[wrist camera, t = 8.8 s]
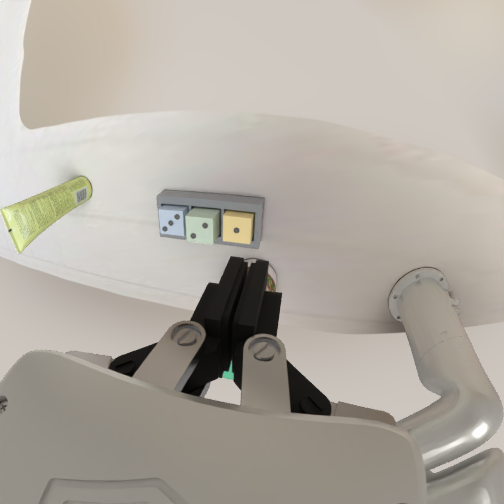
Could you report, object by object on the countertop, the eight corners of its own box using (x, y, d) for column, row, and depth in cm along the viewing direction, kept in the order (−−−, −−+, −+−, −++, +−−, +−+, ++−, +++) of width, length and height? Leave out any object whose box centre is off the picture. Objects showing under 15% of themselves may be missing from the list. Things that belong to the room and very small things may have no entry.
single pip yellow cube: (255, 209, 40) (251, 219, 37) (253, 233, 42) (249, 245, 39) (228, 206, 41) (222, 215, 38) (228, 230, 43) (222, 241, 40)
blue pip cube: (191, 203, 42) (182, 211, 38) (192, 226, 44) (183, 236, 40) (168, 201, 42) (157, 209, 39) (169, 224, 44) (160, 233, 41)
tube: (71, 191, 45) (-1, 235, 29) (76, 169, 43) (-2, 210, 26) (89, 204, 46) (18, 255, 29) (95, 183, 44) (17, 229, 27)
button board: (263, 198, 40) (261, 205, 38) (260, 239, 44) (257, 249, 41) (165, 189, 42) (156, 195, 40) (167, 228, 46) (160, 236, 43)
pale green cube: (219, 209, 40) (212, 219, 37) (219, 234, 42) (212, 245, 39) (194, 206, 40) (184, 216, 37) (194, 231, 42) (186, 242, 39)
